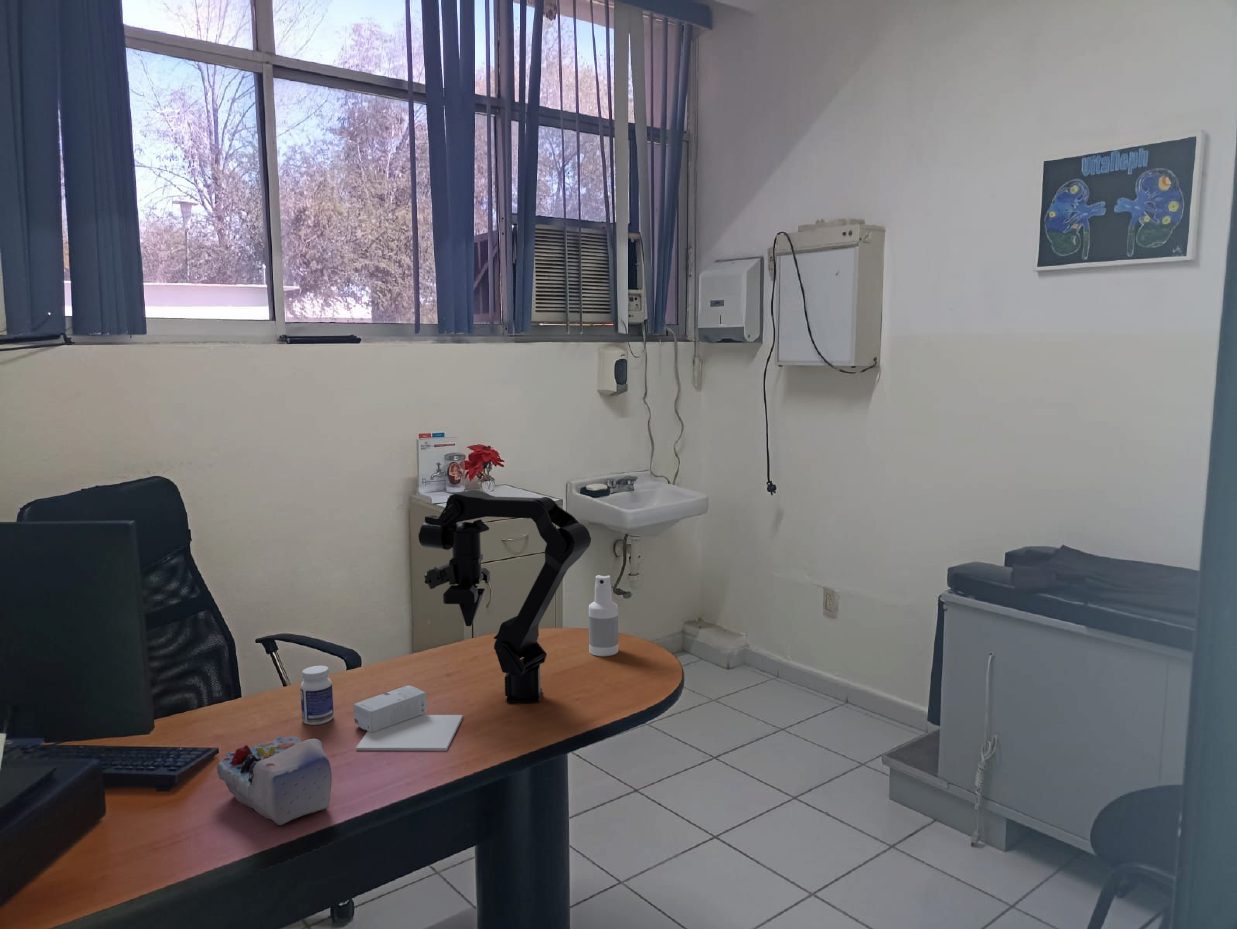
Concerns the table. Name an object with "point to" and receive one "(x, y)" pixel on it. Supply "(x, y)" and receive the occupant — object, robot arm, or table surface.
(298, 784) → the cell model
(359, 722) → the skincare box
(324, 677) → the pill bottle
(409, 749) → the mat
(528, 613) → the robot arm
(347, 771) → the table surface
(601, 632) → the spray bottle
